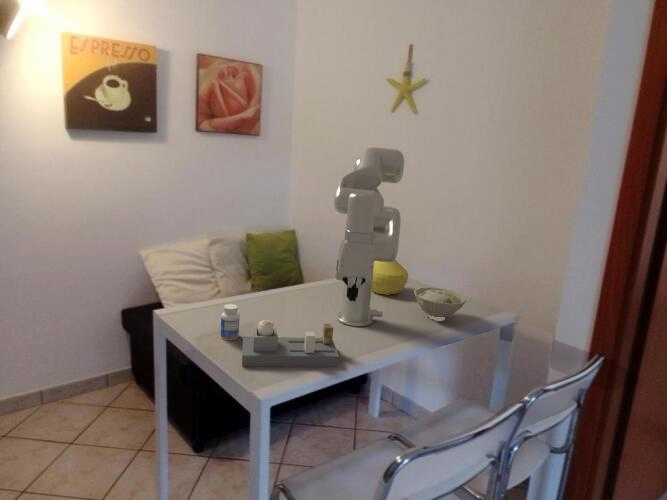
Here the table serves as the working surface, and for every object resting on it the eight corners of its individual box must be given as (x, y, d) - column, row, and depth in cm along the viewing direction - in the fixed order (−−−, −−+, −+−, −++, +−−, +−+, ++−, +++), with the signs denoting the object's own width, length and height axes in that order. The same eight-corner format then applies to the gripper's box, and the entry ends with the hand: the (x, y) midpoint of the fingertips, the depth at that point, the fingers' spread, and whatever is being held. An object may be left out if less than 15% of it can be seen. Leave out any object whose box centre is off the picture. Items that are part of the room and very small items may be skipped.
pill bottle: (221, 332, 144) (223, 302, 142) (239, 333, 145) (241, 303, 143) (219, 340, 139) (220, 309, 137) (237, 341, 140) (239, 310, 137)
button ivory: (272, 333, 133) (273, 320, 132) (272, 339, 129) (273, 325, 128) (258, 333, 132) (258, 319, 131) (258, 339, 128) (259, 325, 127)
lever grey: (312, 348, 132) (314, 331, 131) (313, 353, 129) (315, 336, 128) (304, 348, 132) (305, 331, 131) (305, 352, 129) (306, 335, 128)
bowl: (440, 332, 161) (445, 304, 159) (399, 313, 176) (402, 287, 173) (473, 322, 174) (478, 296, 171) (432, 305, 188) (436, 281, 186)
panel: (331, 347, 141) (333, 325, 140) (338, 366, 130) (340, 342, 128) (242, 346, 137) (243, 323, 135) (241, 365, 125) (243, 341, 123)
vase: (353, 288, 200) (358, 244, 196) (382, 282, 213) (387, 241, 209) (386, 301, 188) (392, 255, 183) (414, 294, 200) (420, 250, 196)
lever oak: (330, 339, 139) (331, 323, 138) (331, 343, 136) (333, 327, 135) (322, 339, 139) (323, 323, 137) (323, 343, 136) (325, 327, 135)
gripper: (380, 236, 136) (373, 296, 140) (329, 232, 133) (323, 294, 137) (387, 241, 129) (380, 305, 133) (334, 238, 126) (327, 303, 130)
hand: (351, 299), depth 135 cm, fingers closed
